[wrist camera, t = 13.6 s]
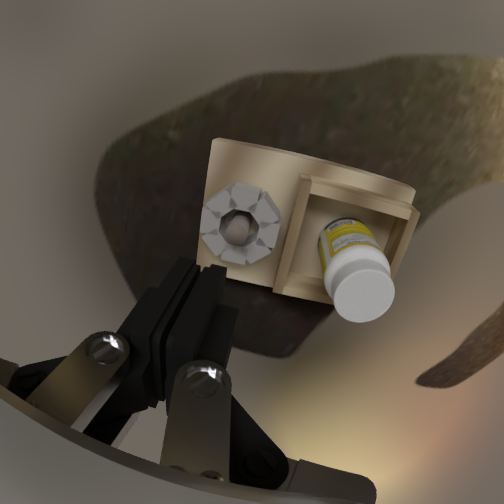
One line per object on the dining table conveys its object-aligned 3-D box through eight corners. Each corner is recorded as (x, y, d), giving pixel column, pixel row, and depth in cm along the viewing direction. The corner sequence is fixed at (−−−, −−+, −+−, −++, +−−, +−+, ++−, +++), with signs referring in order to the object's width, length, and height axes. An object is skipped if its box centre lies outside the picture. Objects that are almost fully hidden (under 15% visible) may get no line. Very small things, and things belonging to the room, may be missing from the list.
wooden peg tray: (407, 184, 24) (432, 203, 19) (365, 295, 29) (376, 330, 25) (218, 137, 24) (199, 145, 19) (201, 260, 30) (184, 290, 25)
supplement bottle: (351, 274, 26) (369, 337, 19) (306, 251, 26) (311, 311, 18) (381, 231, 24) (414, 284, 17) (336, 204, 24) (356, 250, 16)
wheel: (286, 192, 24) (285, 200, 22) (270, 258, 26) (269, 270, 25) (212, 177, 24) (205, 183, 22) (203, 243, 27) (197, 254, 25)
